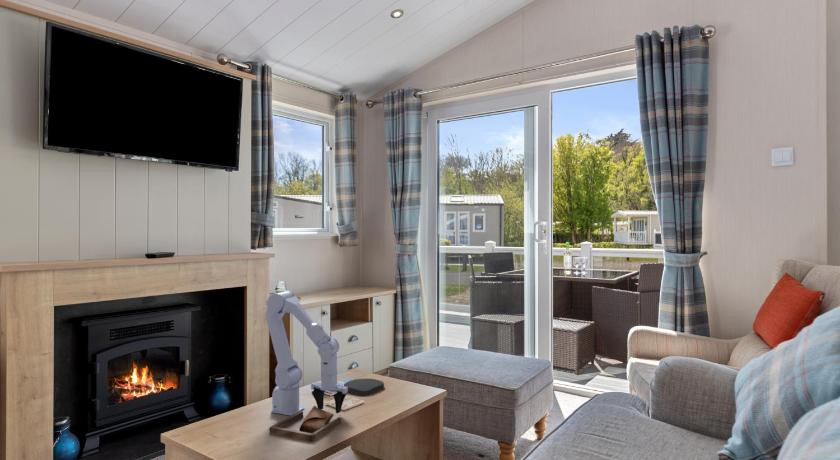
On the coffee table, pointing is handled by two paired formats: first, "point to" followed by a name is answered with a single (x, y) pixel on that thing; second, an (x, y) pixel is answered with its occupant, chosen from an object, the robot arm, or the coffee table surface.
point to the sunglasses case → (315, 420)
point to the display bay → (280, 430)
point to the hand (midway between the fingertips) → (329, 410)
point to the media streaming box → (364, 386)
